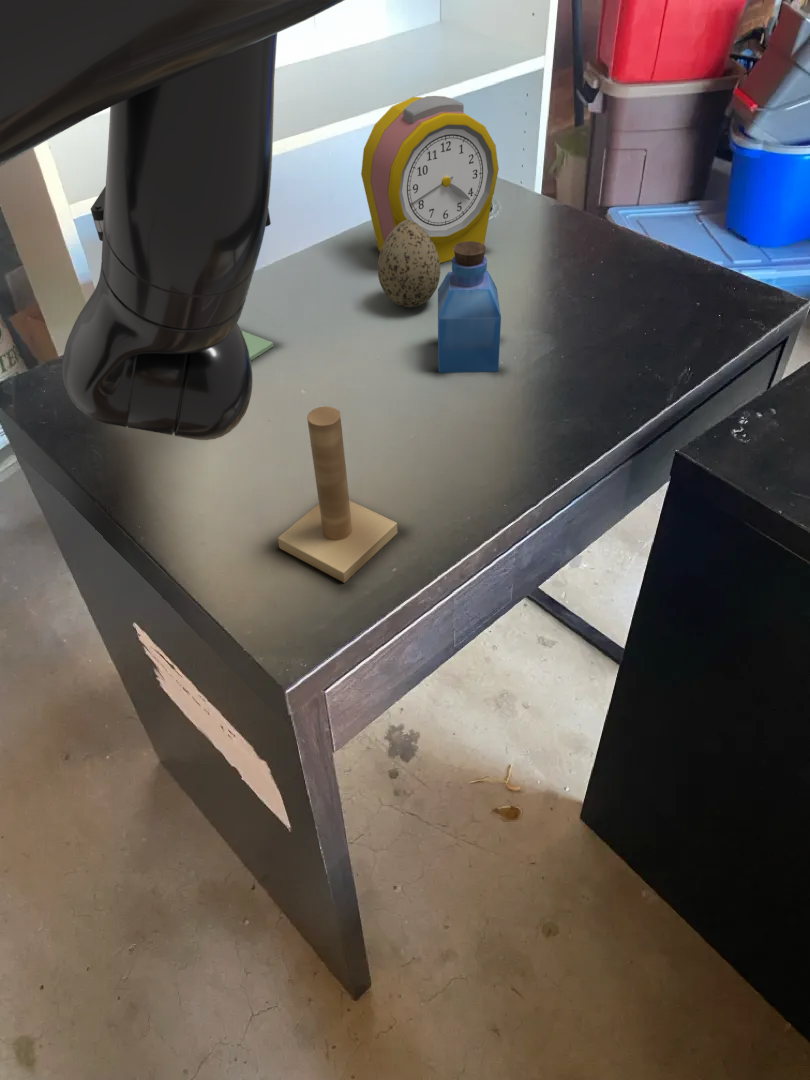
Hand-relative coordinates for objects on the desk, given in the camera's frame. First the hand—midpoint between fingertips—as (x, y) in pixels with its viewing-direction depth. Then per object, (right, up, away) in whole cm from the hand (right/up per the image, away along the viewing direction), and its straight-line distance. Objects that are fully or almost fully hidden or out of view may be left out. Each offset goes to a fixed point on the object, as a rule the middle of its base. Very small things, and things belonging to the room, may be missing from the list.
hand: (188, 172), depth 72 cm
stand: (+14, -32, -4) cm, 35 cm away
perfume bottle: (+26, -13, +16) cm, 33 cm away
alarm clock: (+23, +5, +35) cm, 42 cm away
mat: (-3, -12, +18) cm, 22 cm away
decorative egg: (+20, -5, +25) cm, 32 cm away
